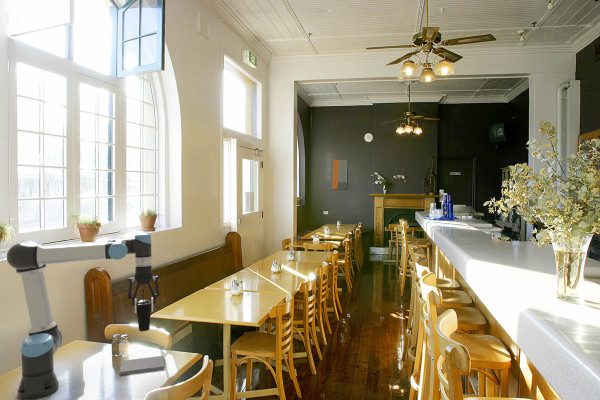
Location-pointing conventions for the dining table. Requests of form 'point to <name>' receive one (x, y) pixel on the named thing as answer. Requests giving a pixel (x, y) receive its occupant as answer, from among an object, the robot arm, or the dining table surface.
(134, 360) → the slate board
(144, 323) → the drinking cup
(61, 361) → the dining table surface
